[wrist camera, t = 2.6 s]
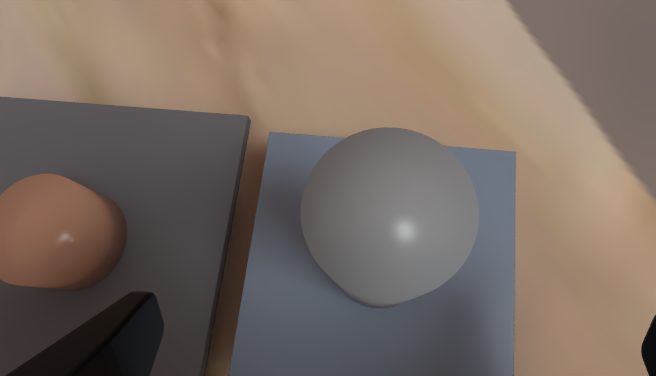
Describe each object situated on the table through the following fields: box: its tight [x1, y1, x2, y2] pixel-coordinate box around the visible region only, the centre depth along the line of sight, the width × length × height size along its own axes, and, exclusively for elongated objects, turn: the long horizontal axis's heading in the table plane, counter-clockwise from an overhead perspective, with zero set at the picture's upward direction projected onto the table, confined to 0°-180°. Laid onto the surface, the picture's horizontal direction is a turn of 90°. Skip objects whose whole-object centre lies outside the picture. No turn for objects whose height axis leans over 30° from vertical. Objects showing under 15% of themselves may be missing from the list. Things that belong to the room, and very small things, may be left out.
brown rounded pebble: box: [0, 174, 127, 290], centre depth 17 cm, size 4×4×2 cm
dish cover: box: [228, 128, 516, 376], centre depth 12 cm, size 8×8×11 cm
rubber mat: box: [0, 97, 251, 376], centre depth 18 cm, size 12×12×1 cm
